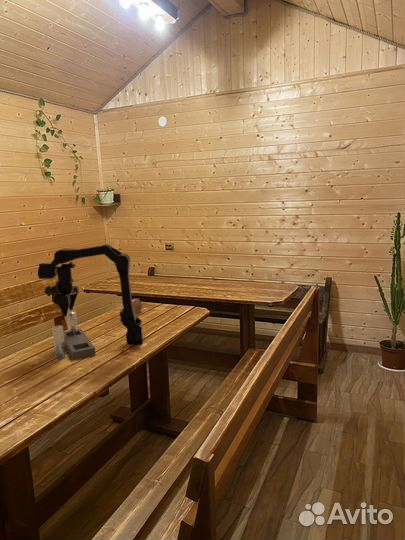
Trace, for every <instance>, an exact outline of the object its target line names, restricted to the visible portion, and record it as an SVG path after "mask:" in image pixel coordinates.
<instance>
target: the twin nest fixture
mask: <svg viewBox="0 0 405 540" xmlns="http://www.w3.org/2000/svg"><path fill="white" fill-rule="evenodd" d="M77 329H78V335H75V336H69V332H68V330H66V331H63V333H64V343H65V348H66V349H67V350H68V352H69V355H70V356H71V359H72V360H76V359H81V358H86V357H91V356H95V355H96V348H95V346H94V345H93V343H92V342H91V340H90V339H89V338H88V336H87V335H86V333H85V332H84V330H83V329H82V328H77Z"/></svg>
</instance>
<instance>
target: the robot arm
mask: <svg viewBox="0 0 405 540" xmlns="http://www.w3.org/2000/svg"><path fill="white" fill-rule="evenodd" d="M101 255H102V256H103V255H105V256H106V257H107V258H108V259H109V260H110V261H111V262H113V263H114V265H115V268H116V271H117V274H118V276H119V283H120V289H121V291H120V292H121V298H122V307H123V308H122V309H120V311H119V316H120V321H119V322H120V323H122V325H123V326H124V327H125V328H126V330H127V331H126V333H125V335H126V337H125V338H126V343H127V345H142V344H143V341H144V337H143V327H142V322H143V321H142V320H141V319H140V318H139V317H137V316H138V315H136V312H135V309H134V307H133V304H132V300H133V298H132V289H131V281H130V270H131V269H130V268H131V257H130V255H128V254H127V253H124V252H123V253H122V251H120V250H118V249H116V248H114V247H113V246H111V245H110V244H107V243H105V244H102V245H96V246H88V247H84V248H61V249H59V250H56V251H55V252H54V255H53V260H52V261H51V262H50V263H49V262H48V263H45V262H40V263H39V264H38V269H37V276H38V277H37V278H38V279H39V280H52V279H55V277H57V281H56V282H55V284H53V285H48V286H45V288H44V294H45V295H47V297H50V296H51V295H54V294H55V295H54V296H53V297H52V303H54V305H57V306H59V308H60V311H61V313H62V315H63V317H67V313H68V312H69V311H74V309H73V308H74V306H75V304H76V301H77V298H78V295H79V293H80V288H79V287H78V286H77V285H73V282H74V278H73V275H72V269H74V268H75V267H77V265H76V264H74V262H72V261H74V260H77V259H82V258H90V257H95V256H101ZM68 262H69V263H68Z"/></svg>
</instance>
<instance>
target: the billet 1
mask: <svg viewBox="0 0 405 540" xmlns="http://www.w3.org/2000/svg"><path fill="white" fill-rule="evenodd" d="M51 329H52V337H53V348H54V356H55V359H56V360H62V359H66V358H67V356H66V354H67V353H66V345H65V343H64V333H63V332H64V326H63V325H61V324H60V325H54V326H52V328H51Z"/></svg>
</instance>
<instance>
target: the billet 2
mask: <svg viewBox="0 0 405 540" xmlns="http://www.w3.org/2000/svg"><path fill="white" fill-rule="evenodd" d="M66 319H67V322H66V323H67V329H68V330H67V331H68V332H69V336H75V335H78V329H79V328H78V319H77V312H76V311H75V310H70V311H68V313H67V316H66Z"/></svg>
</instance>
